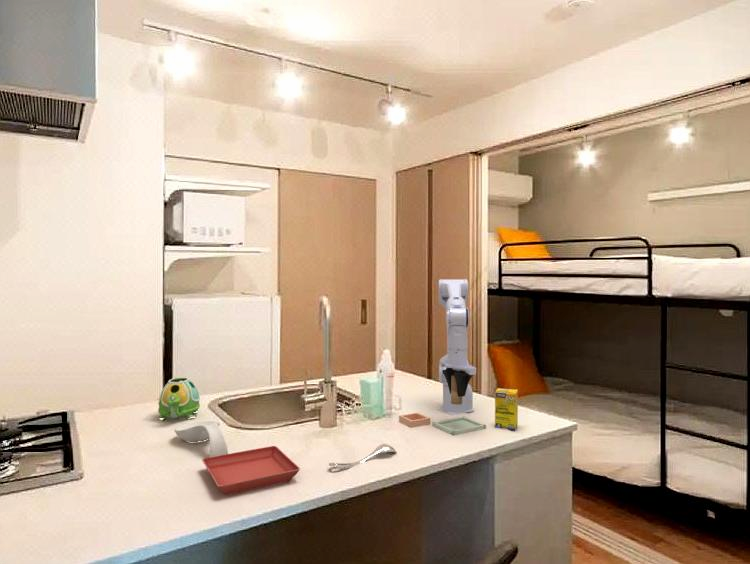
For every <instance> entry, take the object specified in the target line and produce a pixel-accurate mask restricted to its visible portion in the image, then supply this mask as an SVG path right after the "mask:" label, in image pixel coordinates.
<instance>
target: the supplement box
mask: <svg viewBox="0 0 750 564" xmlns="http://www.w3.org/2000/svg"><path fill="white" fill-rule="evenodd" d="M494 393H495V394H494V428H497V429H506V430H509V431H514V432H515V431H516V430H517V427H518V423H519V422H518V417H519V416H518V415H519V413H518V412H519V408H518V407H519V403H518V402H519V389H512V388H511V389H510V388H501V387H498V388H497V389H496V390H495V392H494Z"/></svg>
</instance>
